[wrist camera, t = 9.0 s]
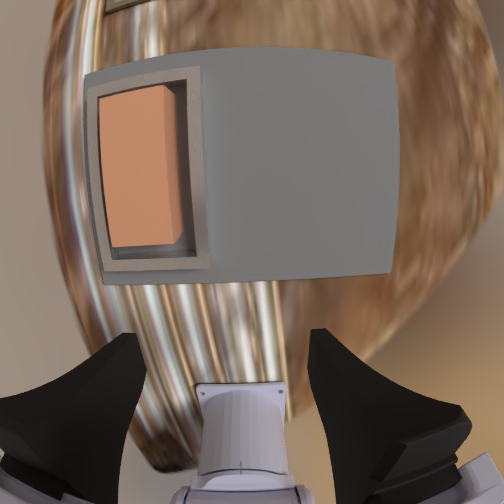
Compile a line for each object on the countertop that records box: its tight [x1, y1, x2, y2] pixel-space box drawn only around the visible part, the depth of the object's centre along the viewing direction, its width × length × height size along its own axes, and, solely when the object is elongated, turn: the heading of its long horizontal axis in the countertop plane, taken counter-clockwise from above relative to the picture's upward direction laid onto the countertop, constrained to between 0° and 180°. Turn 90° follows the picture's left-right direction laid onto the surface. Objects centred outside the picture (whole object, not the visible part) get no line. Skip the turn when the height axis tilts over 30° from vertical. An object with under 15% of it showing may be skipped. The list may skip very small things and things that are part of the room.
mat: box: [84, 47, 400, 285], centre depth 18 cm, size 16×22×1 cm
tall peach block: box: [99, 85, 184, 247], centre depth 16 cm, size 4×9×3 cm, turn 2°
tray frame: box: [87, 66, 213, 271], centre depth 17 cm, size 13×8×2 cm, turn 2°
